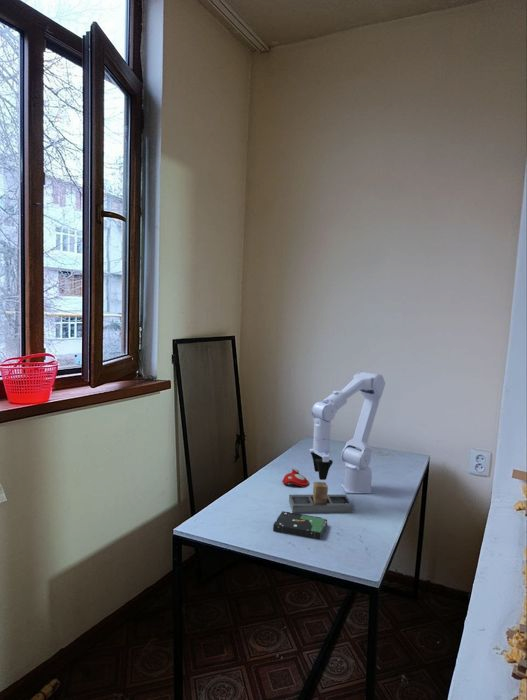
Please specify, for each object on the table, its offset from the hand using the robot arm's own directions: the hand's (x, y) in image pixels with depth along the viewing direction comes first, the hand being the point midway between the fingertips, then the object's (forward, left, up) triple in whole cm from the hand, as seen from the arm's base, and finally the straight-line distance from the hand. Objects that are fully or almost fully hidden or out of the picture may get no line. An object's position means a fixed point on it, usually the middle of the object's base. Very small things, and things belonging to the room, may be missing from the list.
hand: (320, 475), depth 168 cm
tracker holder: (+5, -18, -10) cm, 21 cm away
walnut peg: (+1, +5, -9) cm, 11 cm away
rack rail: (+1, +5, -9) cm, 11 cm away
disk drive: (+10, +20, -10) cm, 24 cm away
